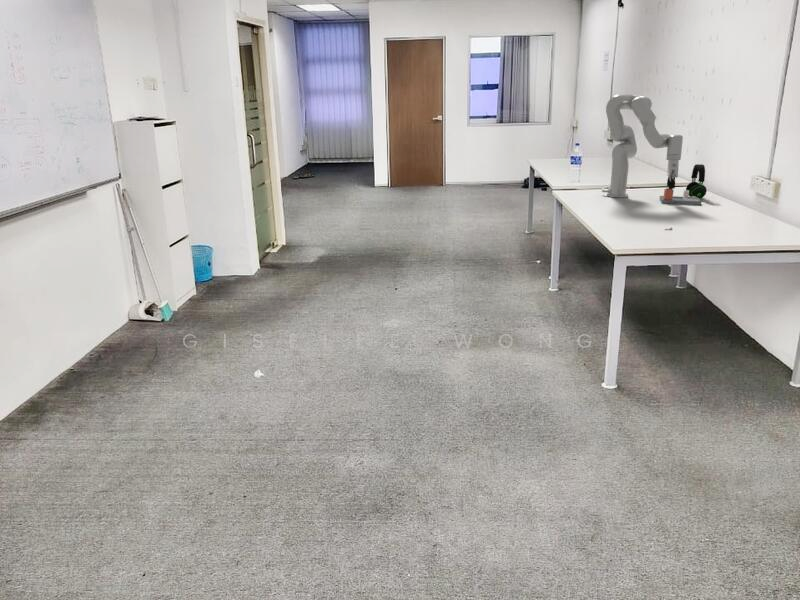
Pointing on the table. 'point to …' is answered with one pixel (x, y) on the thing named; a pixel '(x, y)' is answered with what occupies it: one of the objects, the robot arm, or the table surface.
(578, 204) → the table surface
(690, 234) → the table surface
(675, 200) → the panel
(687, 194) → the block
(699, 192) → the headphones
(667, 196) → the cap
